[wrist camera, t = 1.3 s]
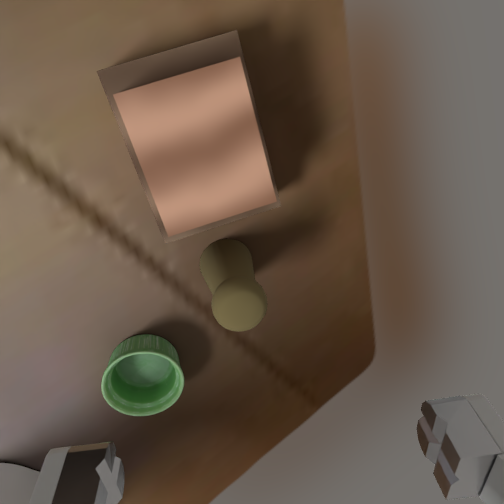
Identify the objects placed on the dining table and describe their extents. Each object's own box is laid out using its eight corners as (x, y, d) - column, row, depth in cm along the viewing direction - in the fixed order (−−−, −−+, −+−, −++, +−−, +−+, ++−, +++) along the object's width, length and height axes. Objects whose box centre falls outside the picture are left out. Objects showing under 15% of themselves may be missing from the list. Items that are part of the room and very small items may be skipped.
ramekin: (139, 402, 52) (137, 429, 48) (89, 358, 48) (82, 383, 44) (197, 363, 51) (200, 387, 47) (151, 315, 47) (150, 337, 43)
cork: (253, 237, 46) (277, 281, 36) (251, 285, 48) (273, 339, 38) (198, 239, 45) (208, 285, 35) (199, 288, 47) (209, 344, 37)
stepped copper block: (271, 195, 44) (292, 218, 37) (165, 230, 44) (165, 260, 36) (230, 34, 38) (245, 24, 30) (103, 71, 37) (88, 70, 30)
